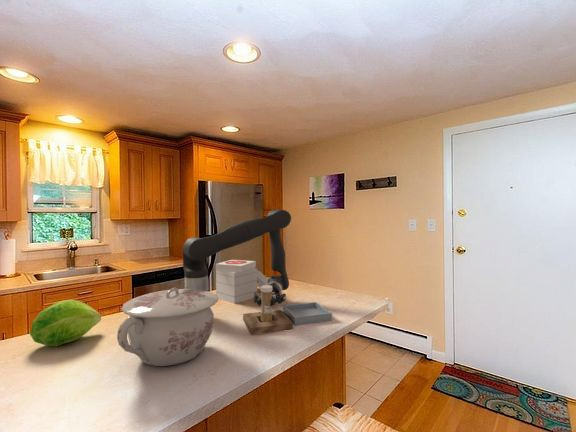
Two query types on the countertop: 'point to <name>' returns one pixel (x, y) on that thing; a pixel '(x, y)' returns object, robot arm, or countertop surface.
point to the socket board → (267, 323)
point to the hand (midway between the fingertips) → (265, 303)
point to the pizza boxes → (238, 280)
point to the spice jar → (266, 303)
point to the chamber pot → (167, 325)
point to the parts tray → (306, 313)
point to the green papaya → (63, 322)
